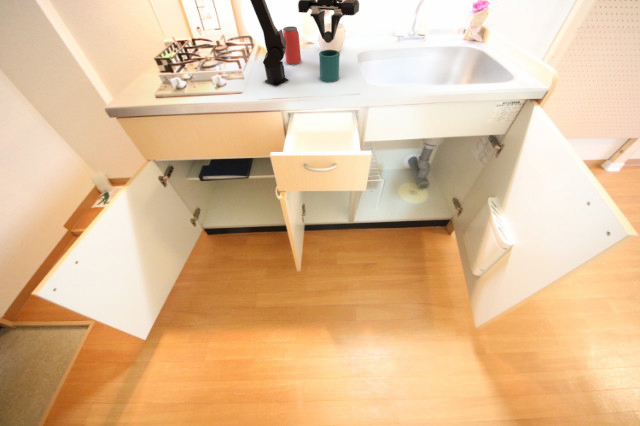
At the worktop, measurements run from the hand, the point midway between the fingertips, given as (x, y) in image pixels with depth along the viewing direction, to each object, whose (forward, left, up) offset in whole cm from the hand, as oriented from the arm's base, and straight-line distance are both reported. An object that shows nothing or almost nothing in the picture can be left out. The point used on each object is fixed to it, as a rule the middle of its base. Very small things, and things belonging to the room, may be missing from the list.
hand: (328, 39), depth 81 cm
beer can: (+5, +24, -13) cm, 27 cm away
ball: (0, 0, +1) cm, 1 cm away
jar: (+1, +1, -13) cm, 13 cm away
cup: (+24, +18, -13) cm, 33 cm away
